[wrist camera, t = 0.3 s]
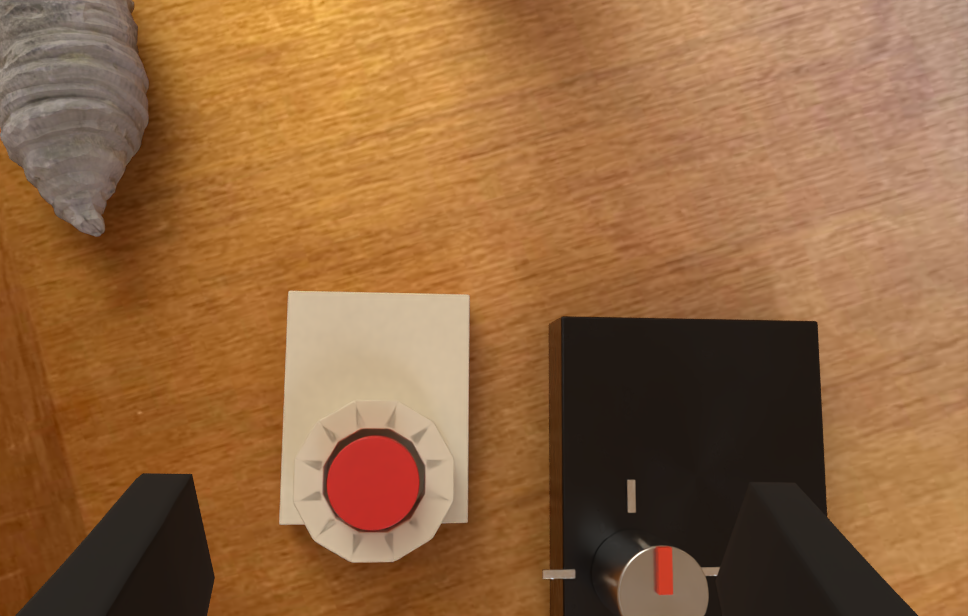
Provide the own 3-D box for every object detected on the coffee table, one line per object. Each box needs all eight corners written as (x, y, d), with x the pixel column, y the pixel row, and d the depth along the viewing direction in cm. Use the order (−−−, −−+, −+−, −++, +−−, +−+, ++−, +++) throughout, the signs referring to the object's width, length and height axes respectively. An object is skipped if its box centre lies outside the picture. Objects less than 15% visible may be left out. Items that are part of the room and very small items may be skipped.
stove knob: (673, 615, 33) (714, 645, 29) (591, 617, 33) (620, 648, 29) (672, 528, 34) (711, 546, 30) (590, 529, 33) (618, 547, 29)
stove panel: (800, 641, 37) (837, 662, 34) (530, 648, 35) (543, 672, 32) (786, 327, 39) (820, 320, 36) (529, 323, 37) (541, 315, 34)
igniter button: (417, 523, 32) (418, 530, 30) (329, 524, 32) (324, 531, 30) (419, 435, 33) (420, 436, 31) (331, 434, 32) (328, 436, 30)
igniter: (463, 544, 36) (471, 560, 32) (284, 546, 35) (270, 564, 31) (465, 301, 37) (473, 288, 33) (294, 297, 36) (281, 283, 32)
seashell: (3, 256, 32) (-68, 117, 26) (12, 33, 39) (-42, -125, 32) (166, 244, 34) (140, 112, 28) (150, 34, 41) (126, -115, 34)
